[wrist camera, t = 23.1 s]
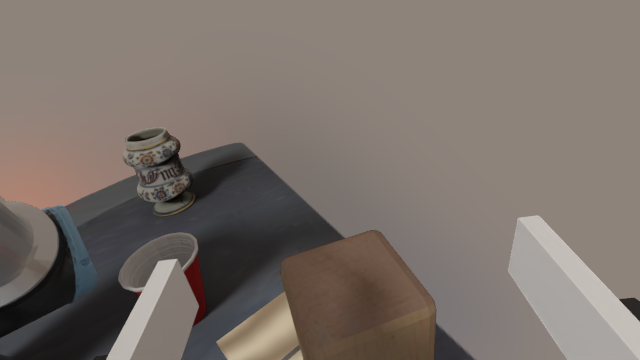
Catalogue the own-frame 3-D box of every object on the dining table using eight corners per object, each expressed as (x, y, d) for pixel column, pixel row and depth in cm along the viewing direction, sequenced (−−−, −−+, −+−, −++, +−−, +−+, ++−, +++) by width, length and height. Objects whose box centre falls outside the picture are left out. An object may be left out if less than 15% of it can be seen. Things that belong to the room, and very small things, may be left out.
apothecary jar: (202, 186, 89) (178, 119, 80) (196, 212, 78) (168, 139, 69) (154, 195, 88) (124, 129, 79) (141, 224, 77) (105, 151, 68)
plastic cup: (158, 296, 58) (128, 240, 52) (223, 280, 59) (201, 224, 53) (141, 355, 49) (103, 296, 43) (219, 335, 50) (193, 275, 44)
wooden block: (386, 352, 43) (378, 223, 33) (434, 439, 34) (442, 302, 24) (309, 383, 41) (275, 256, 31) (339, 484, 32) (306, 354, 22)
